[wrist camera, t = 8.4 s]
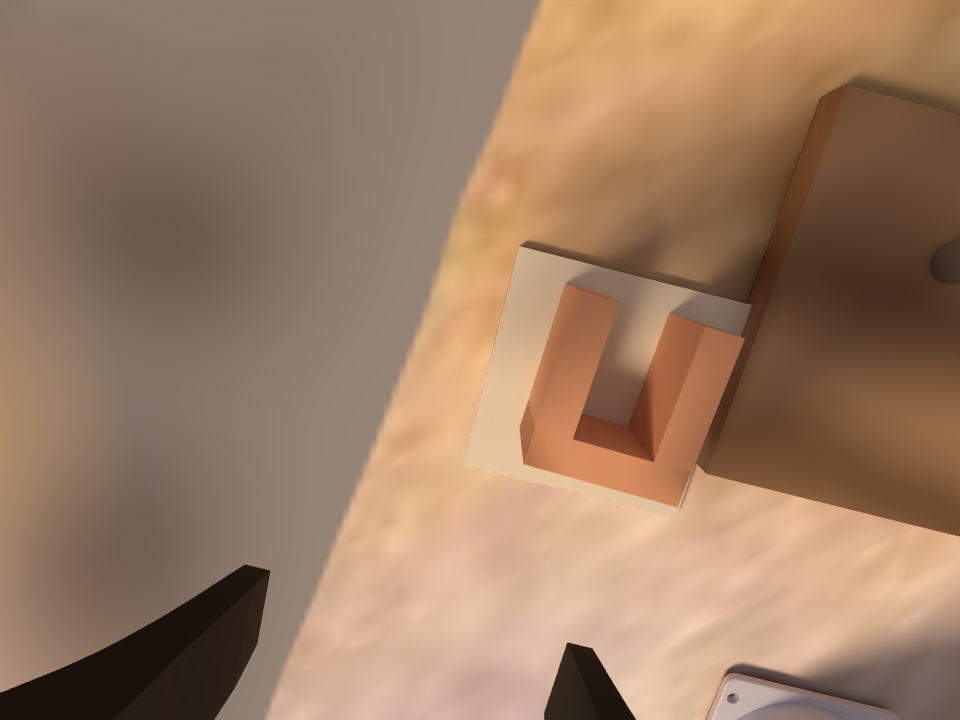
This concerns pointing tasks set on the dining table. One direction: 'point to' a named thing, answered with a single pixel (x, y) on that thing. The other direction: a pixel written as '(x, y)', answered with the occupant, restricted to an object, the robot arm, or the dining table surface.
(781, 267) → the stand
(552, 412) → the c link
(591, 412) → the felt mat
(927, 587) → the dining table surface
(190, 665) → the robot arm
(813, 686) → the dining table surface
